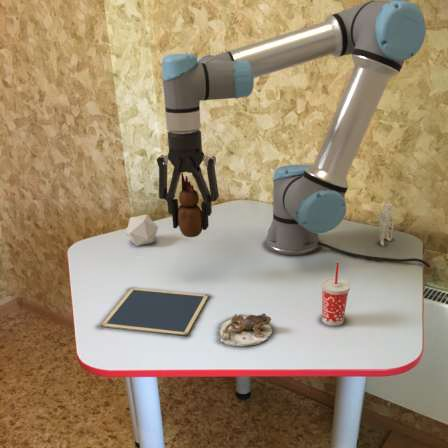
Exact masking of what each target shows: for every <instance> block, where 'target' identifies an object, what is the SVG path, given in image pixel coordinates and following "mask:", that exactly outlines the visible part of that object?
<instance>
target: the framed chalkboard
mask: <svg viewBox="0 0 448 448" xmlns="http://www.w3.org/2000/svg"><path fill="white" fill-rule="evenodd" d="M209 297H210V295H209V294H202V293H193V292H182V291H181V292H179V291H170V290H159V289H148V288H138V287H130V289H129V290H128V291H127V293H126V294H125V295H124V296H123V298H122V299H121V300H120V302H118V304H116V306H115V307H114V308H113V310H112V311H111V312H110V313H109V314H108V316H107V317H106V318H105V320H104V321H103V322H102V323H101V324H100V327H101V328H109V329H116V330H117V329H120V330H128V331H136V332H146V333H154V334H163V335H171V336H181V337H188V335H189V333H190V331H191V330H192V328H193V327H194V324H195V322H196V320H197V318H198V317H199V314H200V313H201V311H202V310H203V307H204V306H205V304H206V302H207V300H208V299H209Z"/></svg>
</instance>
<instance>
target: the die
mask: <svg viewBox="0 0 448 448" xmlns="http://www.w3.org/2000/svg"><path fill="white" fill-rule="evenodd" d="M158 229H159V226H158V225H157V224H156V223H155V221H154V220H153V219H152V217H151V216H149V214H142V215H137V216H132V217H131V216H130V217H129V220H128V223H127V228H126V231H125V234H126V235H127V237H128V238H129V239H130V240H131V242H132V243H133V244H134V245H135V247H140V246H144V245H149V244H153V243H154V241H155V238H156V235H157V232H158Z"/></svg>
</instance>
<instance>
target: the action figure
mask: <svg viewBox="0 0 448 448" xmlns="http://www.w3.org/2000/svg"><path fill="white" fill-rule="evenodd" d="M392 209H393V204H392V203H390V202H388V203H386V204H385V208H384V209H382V210H381V211H380V212H379V214H378V215H377V218H376V220H377V222H379V226H377V228H378V230H379V231H380V234H379V241H380V242H379V244H380V246H383V247H384V246H385V243H384V241H385V239H386V240H387V241H389V242H391V241H392V239H393V233H394V227H395V221H396V220H398V217H396V216H393V215H392ZM391 219H392V222H391ZM390 228H391V233H390V237H389V229H390Z"/></svg>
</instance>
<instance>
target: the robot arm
mask: <svg viewBox="0 0 448 448" xmlns="http://www.w3.org/2000/svg"><path fill="white" fill-rule="evenodd" d="M426 32H427V25H426V20H425V16H424V14H423V11H422V10H421V9H420V7H418V5H416V4H415V3H414V2H411V1H408V0H369V1H365V2H362V3H360V4H356V5H354V6H352V7H350V8H347V9H344V10H341V11H338V12H336V13H333V14H330V15H327V17H326V18H325V19H324V21H322V22H319V23H316V24H313V25H309V26H306V27H302V28H300V29H295V30H293V31H290V32H285V33H283V34H280V35H276V36H274V37H270V38H267V39H263V40H260V41H257V42H254V43H249V44H247V45H244V46H240V47H237V48H234V49H230V50H228V51H224V52H221V53H218V54H214V55H213V54H212V55H211V54H208V55H203V56H202V57H201V56H200V58H198V57H197V55H196V54H195V53H171V54H167V55H165V56H163V58H162V60H161V69H162V78H161V80H162V87H163V99H164V106H165V107H164V108H165V109H164V110H165V120H166V123H165V124H166V130H167V131H168V132H167V134H166V135H167V145H168V153H167V154H165V155H164V154H161V155H159V156H158V157H157V158H156V163H157V166H158V198H159V199H160V200H164V201H166V203H167V212H168V214H169V215H171V218H172V228H173V229H177V228H179V224H178V217H177V212H178V209H179V198H176V193H177V190H178V186H179V182H180V178H181V173H183V174H184V173H189V174H191V175H192V178H194V181H195V183H196V186H197V188H198V190H199V193H200V195H201V198H202V200H203V201H202V202H201V203H200V209H201V211H202V226H203V228H202V231H206V230H207V229H208V228H209V225H210V224H209V217H210V216H211V215H212V213H213V211H212V209H213V207H212V202H216V201H217V200H218V198H219V196H220V194H219V187H218V181H217V180H218V179H217V173H216V162H217V158H216V156H215V155H214V156H213V155H212V156H208V155H205V153H204V151H203V143H202V131H201V130H200V129H201V127H202V126H201V109H200V101H202V102H203V101H213V100H226V99H229V100H230V99H236V100H237V99H239V98H240V99H241V98H248V97H249V96H251V94H252V93H253V90H254V84H255V83H254V81H255V80H254V79H257V78H260V77H264V76H266V75H270V74H273V73H276V72H280V71H282V70H286V69H290V68H293V67H295V66H300V65H303V64H306V63H309V62H311V61H312V62H313V61H315V60H318V59H322V58H326V57H329V56H331V57H333V58H334V59H337V58H340V57H343V56H349V55H351V60H352V63H353V67H352V71H351V73H350V76H349V78H348V80H347V82H346V85H345V87H344V90H343V92H342V94H341V96H340V97H341V98H340V100H339V102H338V105H337V107H336V110H335V112H334V114H333V117H332V119H331V121H330V124H329V126H328V129H327V131H326V134H325V136H324V139H323V141H322V142H321V143H322V144H321V146H320V148H319V149H318V153H317V155H316V158H315V160H314V163H313V164H287V165H282V166H278V167H276V169H275V170H274V172H273V179H272V182H273V184H272V185H273V187H272V191H273V193H272V195H273V196H272V200H273V201H272V221H271V224H270V227H269V228H268V230H267V235H266V239H265V244H266V246H265V247H266V248H267V249H268V250H270V251H272V252H274V253H276V254H279V255H285V256H302V255H308V254H311V253H314V252H316V251H317V250H318V249H319V247H324V248H327V249H330V250H332V251H334V252H338V253H341V254H344V255H348V256H351V257H356V258H360V259H366V260H367V259H368V260H374V261H375V260H376V261H386V262H394V263H395V262H396V263H405V262H407V263H408V262H416V263H421V264H423V265H425V266H426V267H427V268H431V265H430V264H429V263H428V262H427V261H426V260H424V259H421V258H416V257H412V258H391V257H383V256H382V257H380V256H374V255H373V256H372V255H365V254H360V253H356V252H351V251H347V250H343V249H340V248H337V247H334V246H331V245H329V244H326V243H323V242H321V241H320V237H319V234H325V233H328V232H330V231H333V230H334V229H336V228H337V227H338V226H339V225H340V224H341V223H342V221H343V220H344V219H345V216H346V213H347V204H346V200H345V198H344V197H345V195H346V193H347V192H348V188H349V183H348V180H347V175H348V173H349V171H350V169H351V166H352V164H353V162H354V160H355V157H356V155H357V153H358V151H359V149H360V147H361V144H362V142H363V139H364V137H365V135H366V133H367V130H368V128H369V126H370V123H371V121H372V119H373V117H374V115H375V112H376V110H377V108H378V105H379V103H380V101H381V99H382V96H383V94H384V92H385V89H386V87H387V85H388V83H389V80H390V79H392V78H394V77H395V76H397V75H399V74H400V72H401V70H402V68H403V66H404V63H405V61H407V60H409V59H412V57H414V56H415V55H416V54H418V52H419V51H420V50H421V48H422V46H423V44H424V41H425V38H426V35H427V34H426ZM202 162H204V166H205V167H206V173H207V179H208V181H207V182H208V185H207V182H206V180H205V178H204V175H203V172H202V168H201V165H202ZM169 163H170V164H171V165H172V166H173V171H172V175H171V180H170V184H169V187H168V164H169ZM208 186H209V188H208Z"/></svg>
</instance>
